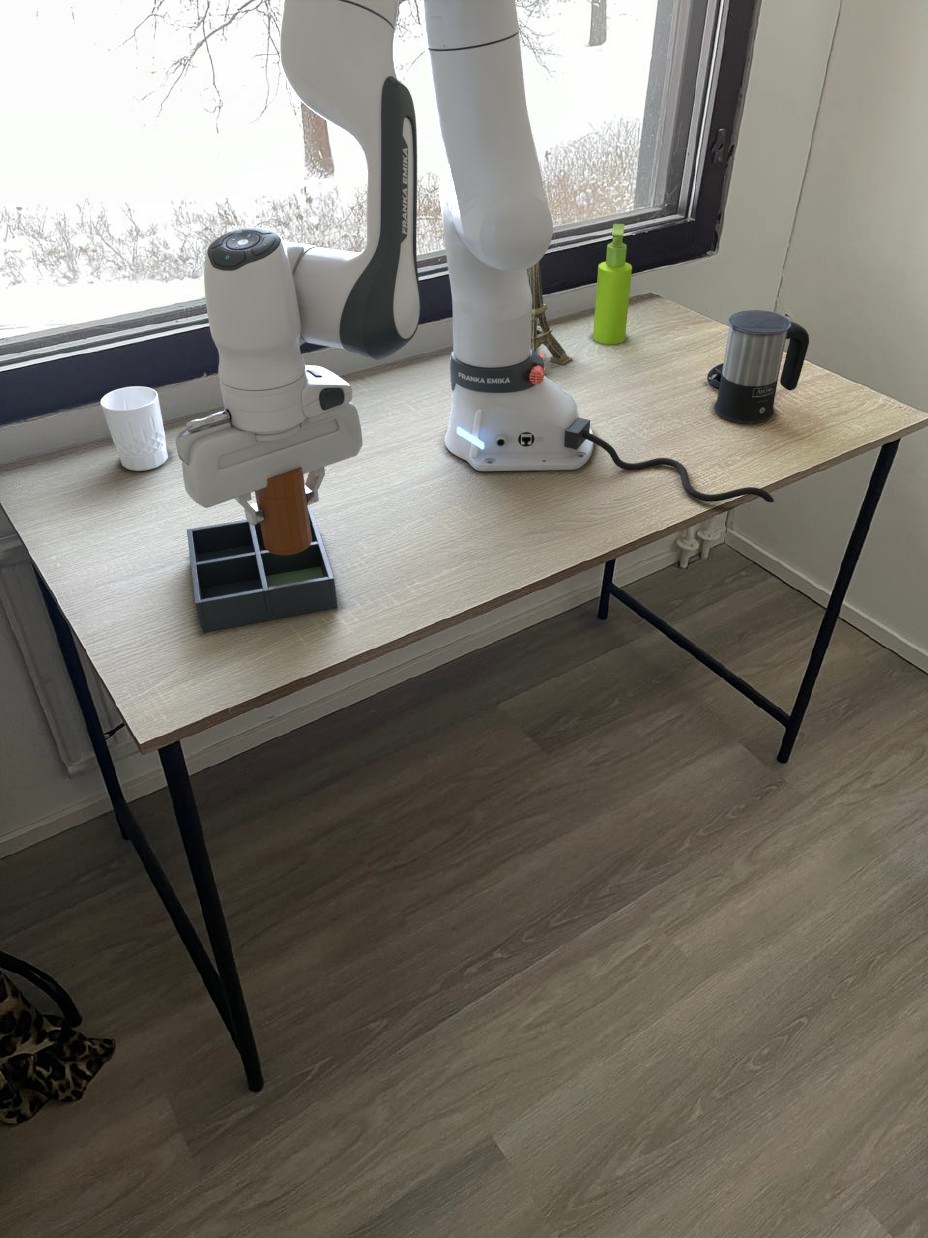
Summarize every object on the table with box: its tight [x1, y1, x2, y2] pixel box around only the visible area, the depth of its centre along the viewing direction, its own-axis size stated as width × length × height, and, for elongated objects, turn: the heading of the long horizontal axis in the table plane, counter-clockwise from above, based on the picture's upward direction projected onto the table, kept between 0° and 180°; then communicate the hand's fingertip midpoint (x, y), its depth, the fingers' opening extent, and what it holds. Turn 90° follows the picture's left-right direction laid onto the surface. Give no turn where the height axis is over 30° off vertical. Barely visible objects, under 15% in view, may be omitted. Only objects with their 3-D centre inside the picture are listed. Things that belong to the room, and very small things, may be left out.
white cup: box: [99, 385, 169, 472], centre depth 136 cm, size 8×8×10 cm
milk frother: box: [706, 309, 810, 425], centre depth 148 cm, size 14×16×15 cm
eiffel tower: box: [527, 259, 573, 366], centre depth 157 cm, size 11×11×25 cm
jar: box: [254, 467, 312, 555], centre depth 106 cm, size 6×6×10 cm
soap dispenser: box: [592, 223, 633, 345], centre depth 166 cm, size 6×7×20 cm
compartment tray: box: [186, 508, 338, 633], centre depth 114 cm, size 16×16×4 cm
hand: (283, 511), depth 106 cm, fingers closed on jar, 5 cm apart
